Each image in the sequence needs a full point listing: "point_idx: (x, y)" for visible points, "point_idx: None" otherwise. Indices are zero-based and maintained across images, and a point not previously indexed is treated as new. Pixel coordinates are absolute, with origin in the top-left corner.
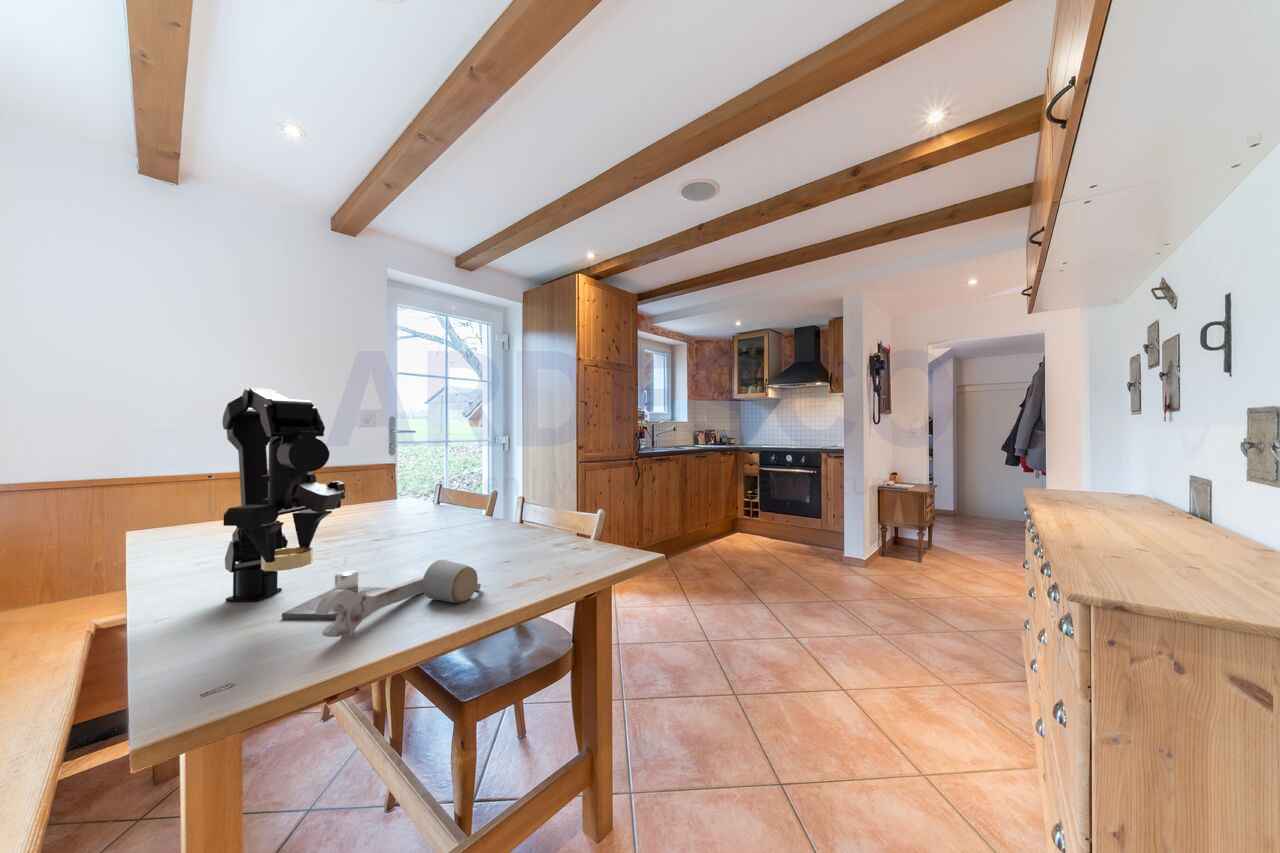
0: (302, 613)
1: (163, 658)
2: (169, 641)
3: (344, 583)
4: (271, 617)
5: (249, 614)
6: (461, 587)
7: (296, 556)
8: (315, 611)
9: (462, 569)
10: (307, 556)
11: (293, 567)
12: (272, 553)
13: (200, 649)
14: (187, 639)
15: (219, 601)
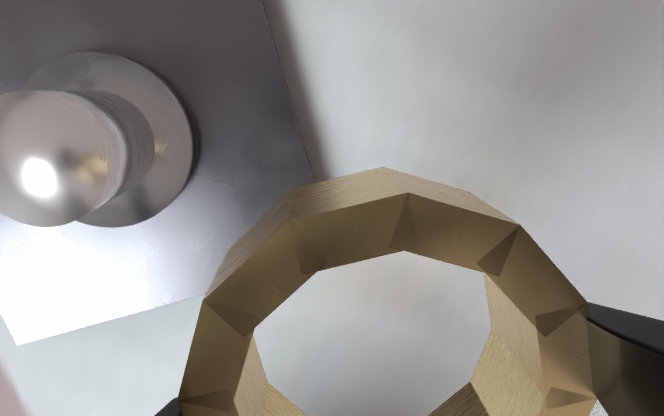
0: (307, 175)
1: (658, 286)
2: None
3: (105, 115)
4: (331, 306)
5: (335, 407)
6: None
7: (451, 201)
8: (272, 141)
9: None
10: (328, 199)
11: (444, 185)
12: (651, 323)
13: (592, 250)
14: None
15: None
